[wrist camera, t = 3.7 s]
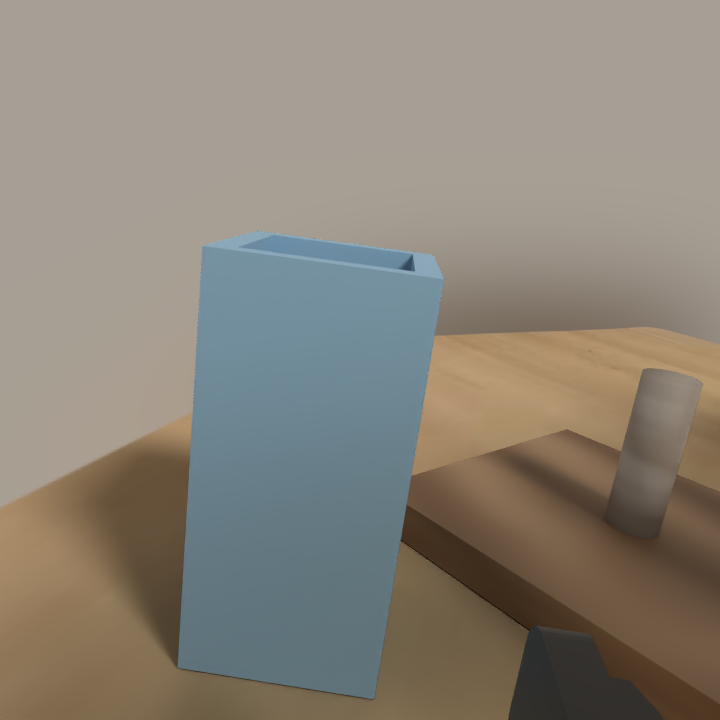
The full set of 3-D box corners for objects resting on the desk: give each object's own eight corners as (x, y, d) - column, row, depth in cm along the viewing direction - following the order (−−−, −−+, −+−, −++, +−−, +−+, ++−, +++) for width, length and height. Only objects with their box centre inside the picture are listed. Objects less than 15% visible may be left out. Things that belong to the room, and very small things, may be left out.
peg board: (561, 454, 34) (592, 321, 32) (878, 596, 24) (952, 416, 22) (373, 520, 25) (400, 338, 23) (761, 792, 15) (871, 515, 13)
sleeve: (230, 555, 21) (257, 231, 18) (381, 578, 21) (433, 254, 18) (177, 667, 16) (202, 245, 13) (374, 699, 16) (443, 279, 13)
